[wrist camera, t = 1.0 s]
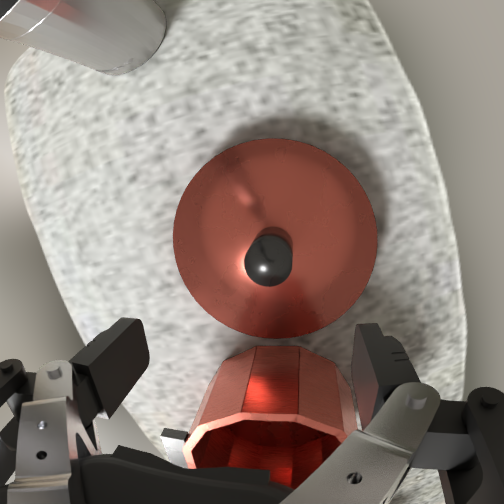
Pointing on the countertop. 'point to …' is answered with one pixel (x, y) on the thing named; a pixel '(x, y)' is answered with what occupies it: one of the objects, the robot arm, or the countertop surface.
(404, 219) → the countertop surface
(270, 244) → the pot lid
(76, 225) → the countertop surface
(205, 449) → the pot
